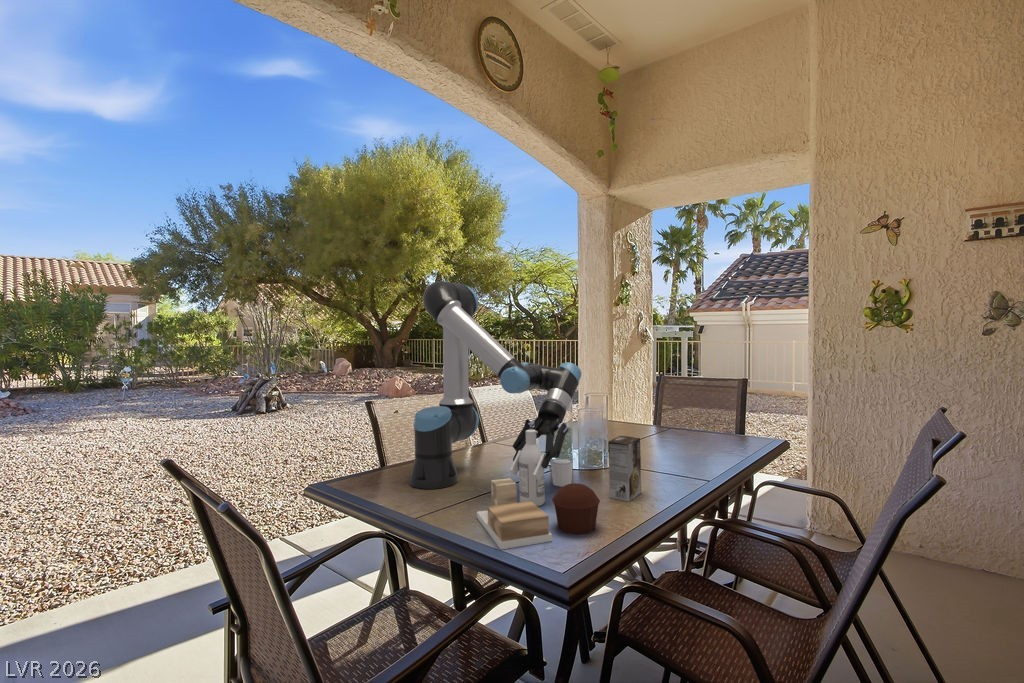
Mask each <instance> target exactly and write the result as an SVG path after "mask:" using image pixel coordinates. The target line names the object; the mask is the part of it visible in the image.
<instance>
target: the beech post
mask: <svg viewBox="0 0 1024 683" xmlns="http://www.w3.org/2000/svg"><path fill="white" fill-rule="evenodd" d="M490 483H491V484H490V486H491V487H490V489H491V490H490V492H491V493H490V494H491V506H496V505H503V504H511V503H518V501H517V483H516V482H515V480H513V479H512V478H510V477H509V478H503V479H501V478H500V479H492V480H490Z"/></svg>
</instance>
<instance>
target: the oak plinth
mask: <svg viewBox="0 0 1024 683" xmlns="http://www.w3.org/2000/svg"><path fill="white" fill-rule="evenodd" d="M487 510H488V524H489V525H490V527H491V528H492V529H493V531H494V532H495V533H496V534H497V536H498V537H499V538H500V540H501V541H508V540H514V539H520V538H527V537H533V536H539V535H545V534H549V532H550V528H549V526H550V525H549V524H550V521H549V515H548V514H547V513H546V512H545V511H543V510H542V509H541V508H540V507H539V506H536V505H535V504H534V503H533V502H532V501H526V502H520V501H519V502H518V501H517V503H511V504H503V505H496V506H492V505H490V506H487Z"/></svg>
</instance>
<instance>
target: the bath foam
mask: <svg viewBox="0 0 1024 683" xmlns="http://www.w3.org/2000/svg"><path fill="white" fill-rule="evenodd" d="M542 454H543V452H542V450H541V448H540V447H539V445H538V444H537V439H536V430H526V444H525V446H524V447H523V449H522V451H521V453H520V456H519V471H518V477H519V478H518V480H519V482H518V483H519V484H518V486H519V489H518V490H519V502H526V501H532V502H533V503H534V504H535V505H536V506H537V507H539V506H542V505H544V504H545V502H546V492H545V487H546V486H545V484H546V483H545V481H546V480H545V470H544V471H543V473H542V476H541V478H540V480H537V479H536V478H535V476H534V475H533V473H534V471H535V469H536V467H537V464H538V462H539V460H540V457H541V455H542Z"/></svg>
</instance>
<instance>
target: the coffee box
mask: <svg viewBox="0 0 1024 683" xmlns="http://www.w3.org/2000/svg"><path fill="white" fill-rule="evenodd" d="M607 443H608V490H609V493H608V494H609V498H610V499H614V500H619V501H624V502H631V501H633V500H634V499H635V498H636V497H638V496H639V495H640V494H641V493H642V465H641V464H642V463H641V462H642V461H641V438H640V437H633V436H627V435H619V436H616V437H615V438H612V439H611V440H608V442H607Z"/></svg>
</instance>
